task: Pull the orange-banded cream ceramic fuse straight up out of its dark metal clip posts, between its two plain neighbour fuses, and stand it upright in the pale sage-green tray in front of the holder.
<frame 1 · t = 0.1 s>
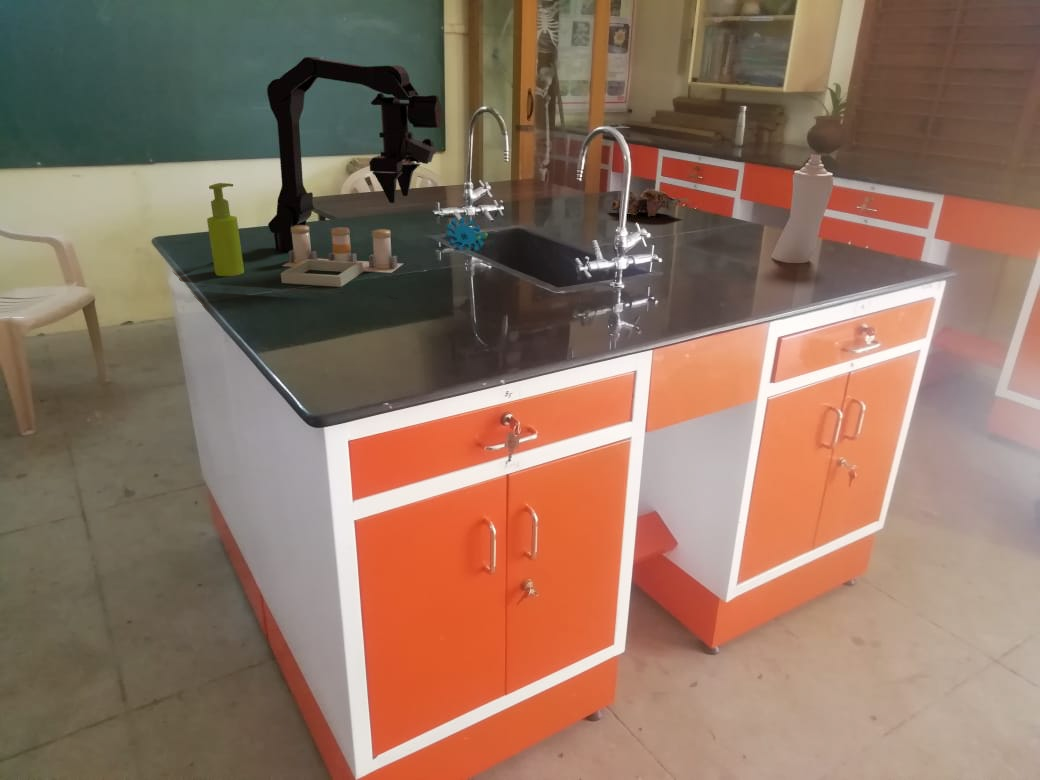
hand: (398, 199, 175), 15 cm above the countertop, fingers open, 9 cm apart
fuse marked: (343, 264, 172), point 1 cm above the countertop, touching fuse holder
fuse holder: (343, 271, 173), on the countertop
soap dispenser: (232, 279, 166), on the countertop
fuse right: (383, 267, 170), point 1 cm above the countertop, touching fuse holder
fuse left: (303, 262, 174), point 1 cm above the countertop, touching fuse holder
curved beige bottle: (795, 261, 186), on the countertop
tray: (324, 283, 163), on the countertop
gear: (467, 251, 192), on the countertop
mineral formation: (648, 216, 235), on the countertop
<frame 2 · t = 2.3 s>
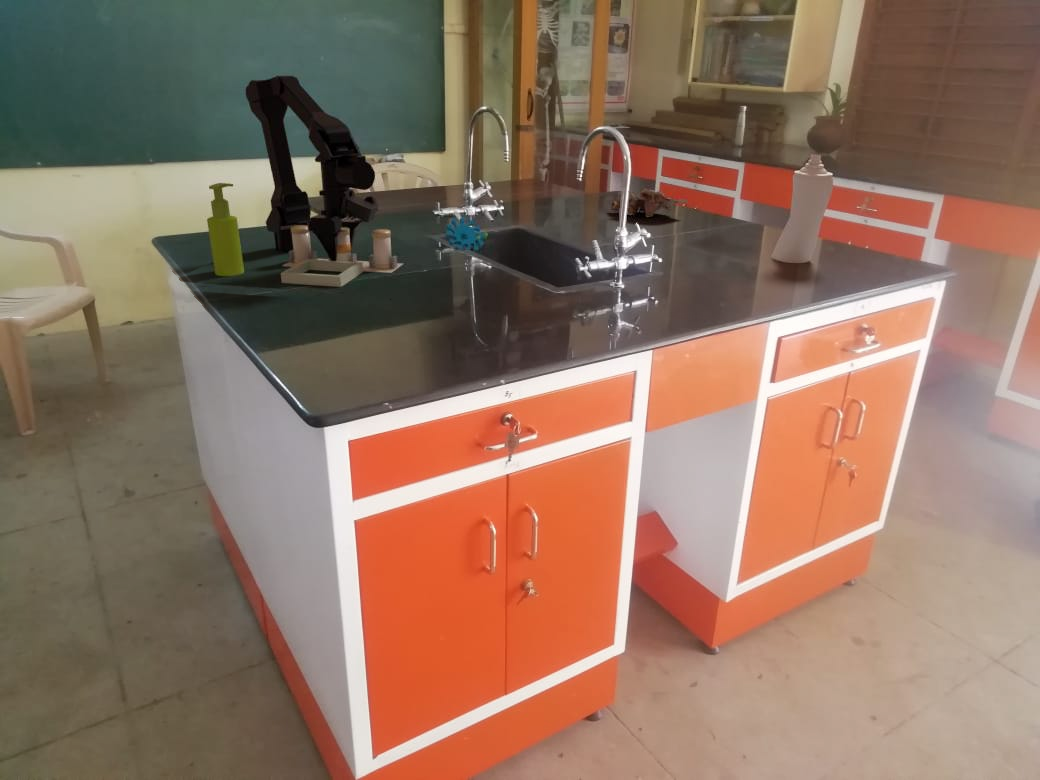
hand: (341, 257, 171), 3 cm above the countertop, fingers open, 8 cm apart
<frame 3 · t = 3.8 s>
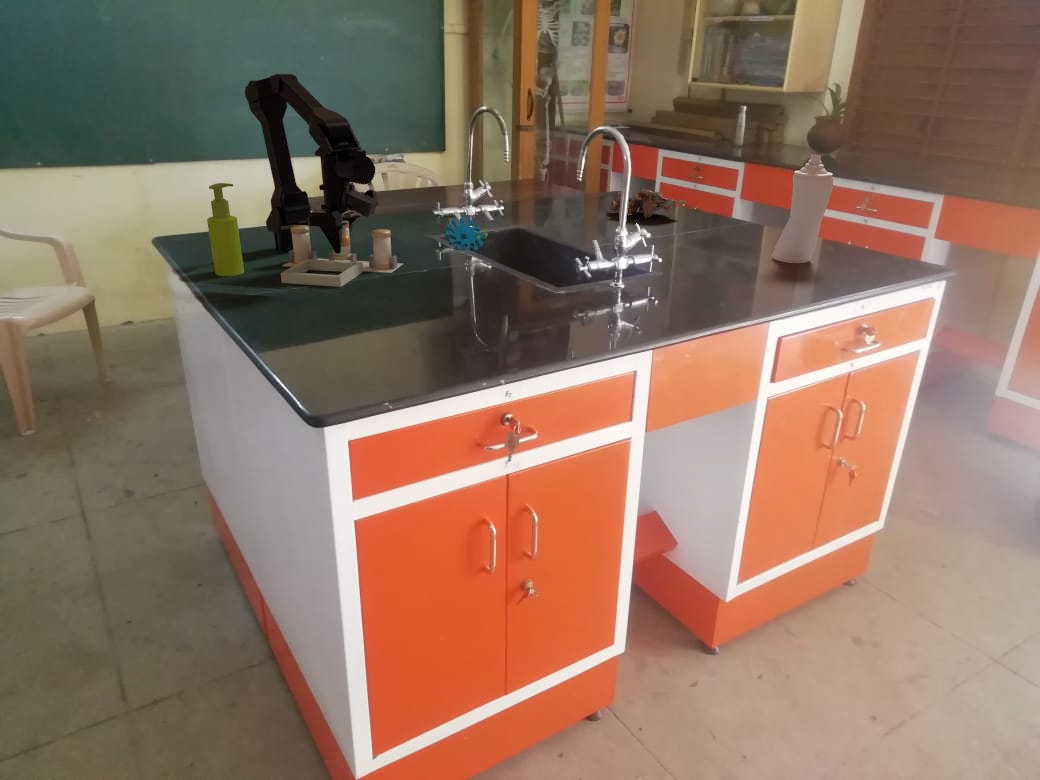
hand: (341, 251, 171), 5 cm above the countertop, fingers closed on fuse marked, 4 cm apart
fuse marked: (342, 258, 171), point 3 cm above the countertop, touching gripper
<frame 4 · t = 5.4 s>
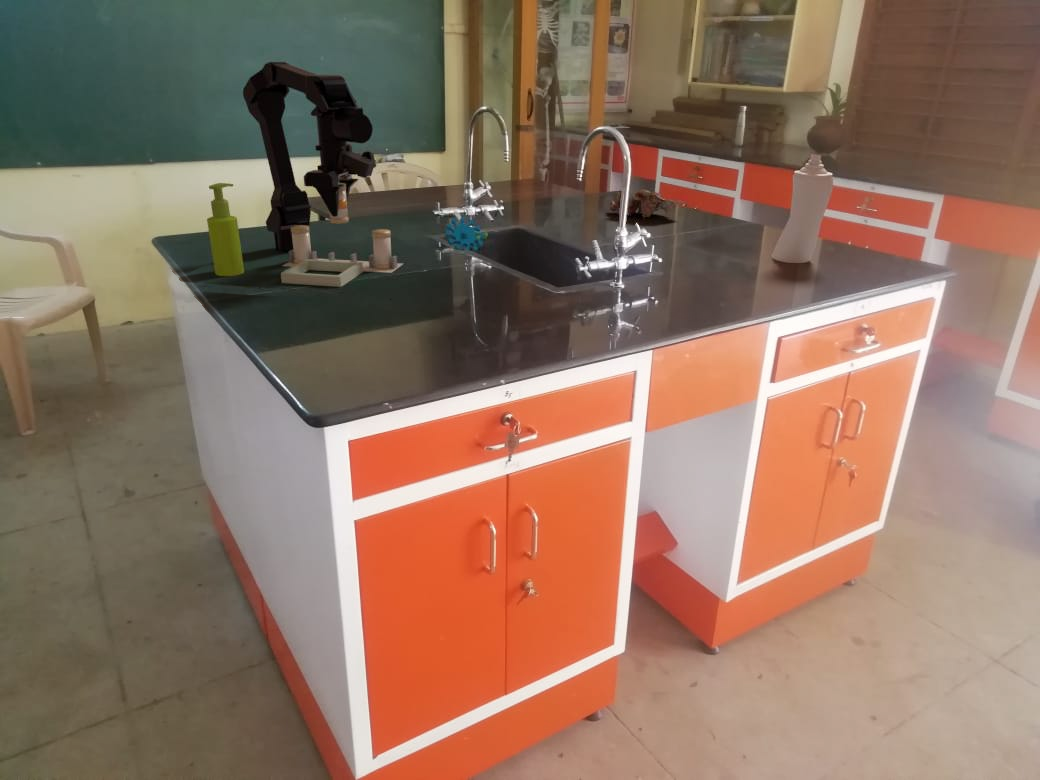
hand: (338, 214, 168), 13 cm above the countertop, fingers closed on fuse marked, 4 cm apart
fuse marked: (339, 221, 168), point 11 cm above the countertop, touching gripper
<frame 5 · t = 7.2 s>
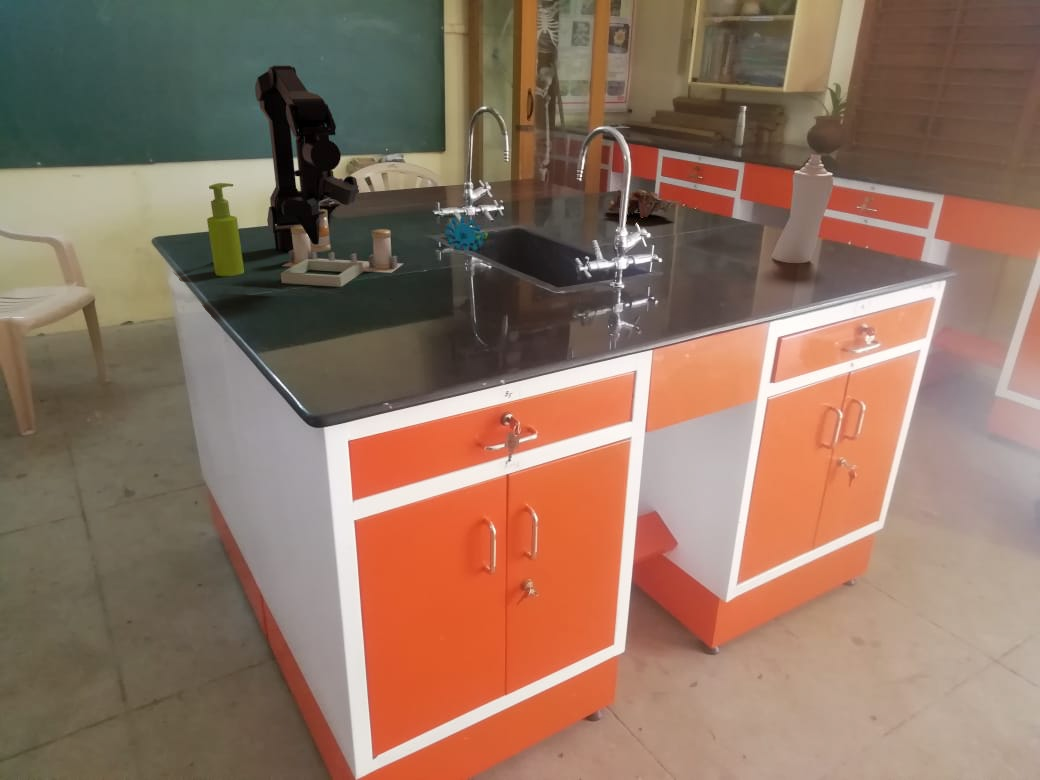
hand: (320, 242, 160), 9 cm above the countertop, fingers closed on fuse marked, 4 cm apart
fuse marked: (320, 249, 160), point 7 cm above the countertop, touching gripper
when the fingers open (4 cm above the countertop, at t = 8.4 s): fuse marked drops 2 cm, resting on tray.
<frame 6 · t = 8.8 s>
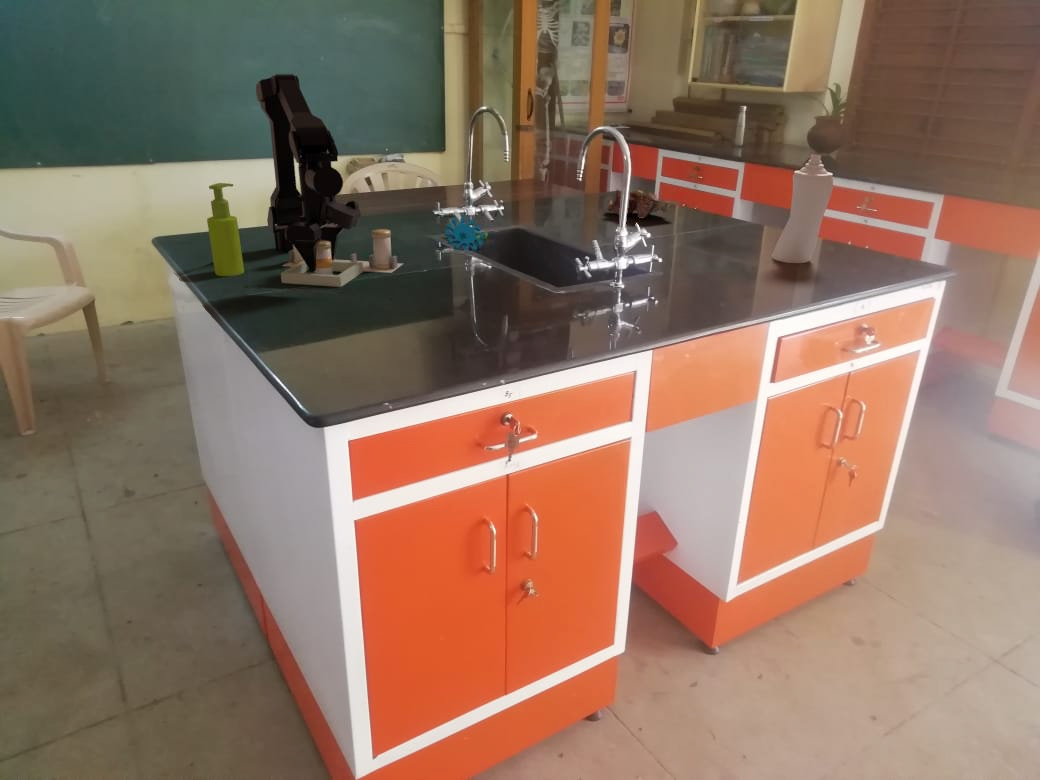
hand: (322, 265, 162), 4 cm above the countertop, fingers open, 9 cm apart
fuse marked: (323, 279, 163), point 1 cm above the countertop, touching tray
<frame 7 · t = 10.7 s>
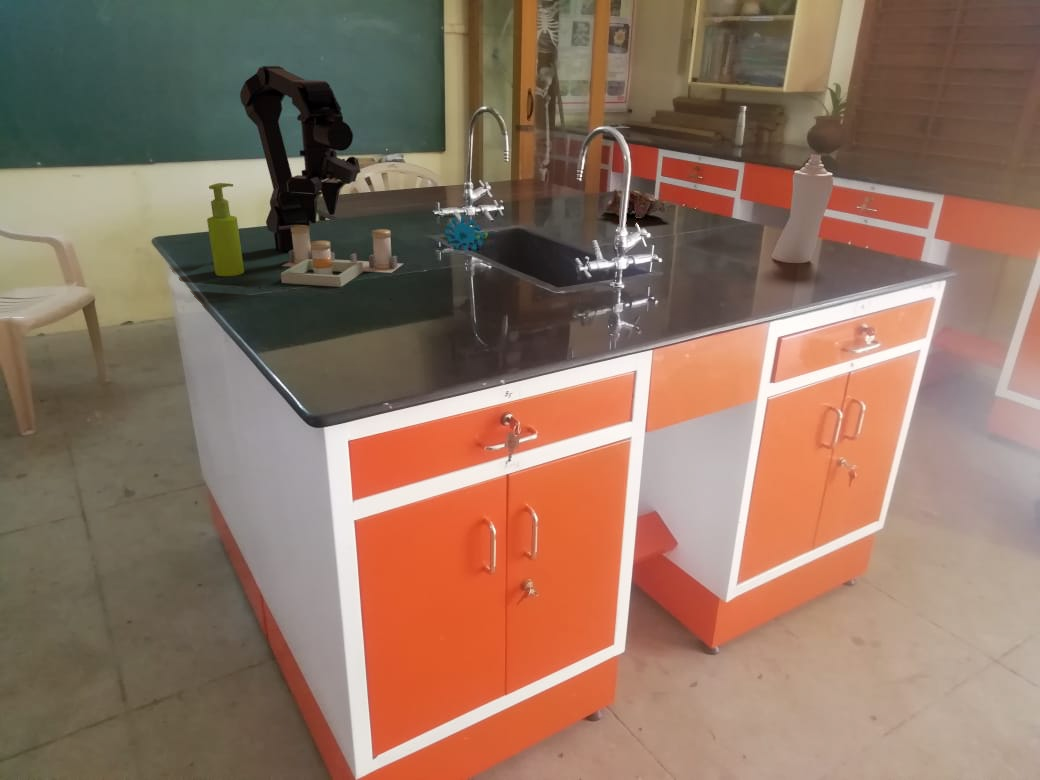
hand: (322, 218, 169), 12 cm above the countertop, fingers open, 9 cm apart
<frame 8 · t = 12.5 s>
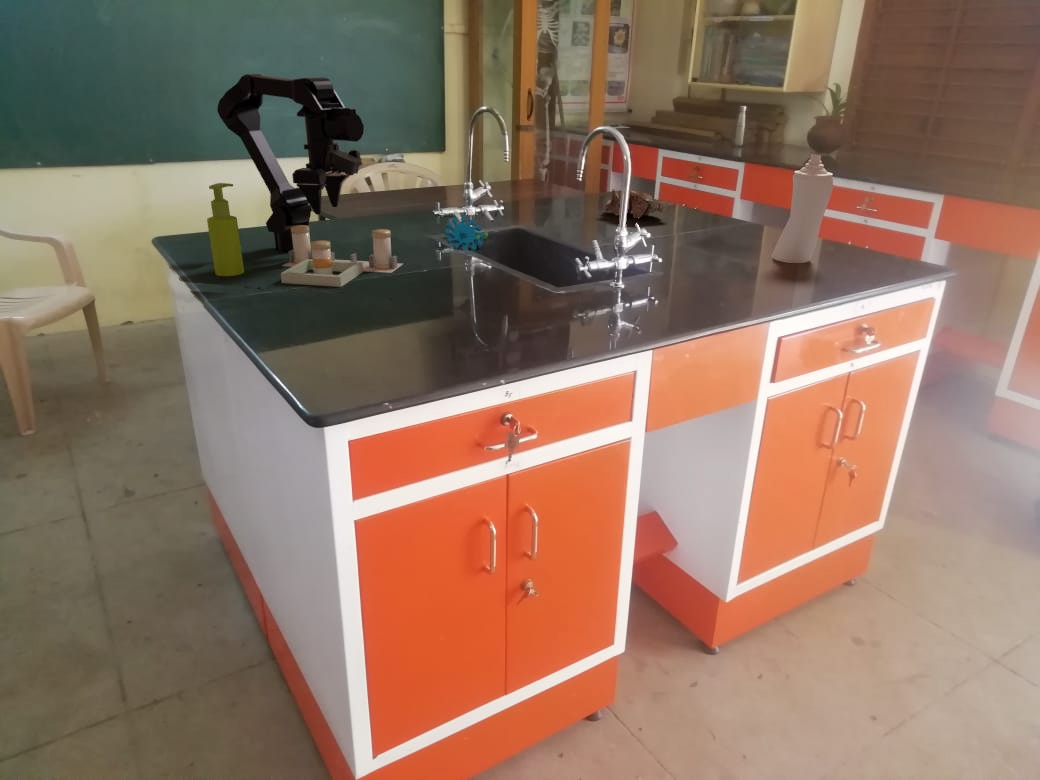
hand: (326, 210, 175), 12 cm above the countertop, fingers open, 9 cm apart
at the end: fuse marked inside the target area on the tray (0.0 cm from its centre), point 0.8 cm above the tray's base; fuse left moved 0.0 cm from its start; fuse right moved 0.0 cm from its start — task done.
